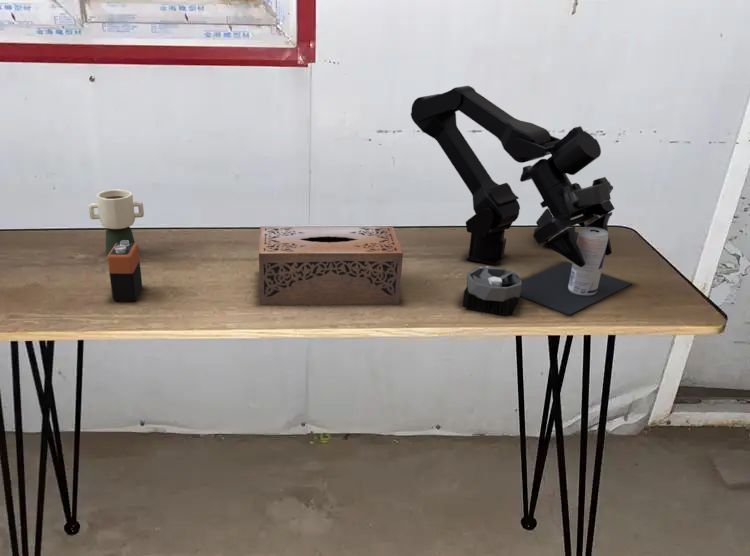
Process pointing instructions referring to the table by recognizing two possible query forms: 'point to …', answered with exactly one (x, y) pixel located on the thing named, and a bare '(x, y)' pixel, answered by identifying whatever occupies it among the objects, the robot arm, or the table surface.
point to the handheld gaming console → (547, 216)
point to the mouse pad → (565, 289)
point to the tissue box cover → (329, 265)
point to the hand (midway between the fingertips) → (596, 260)
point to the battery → (125, 271)
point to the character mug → (116, 215)
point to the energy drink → (589, 261)
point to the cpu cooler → (492, 290)
